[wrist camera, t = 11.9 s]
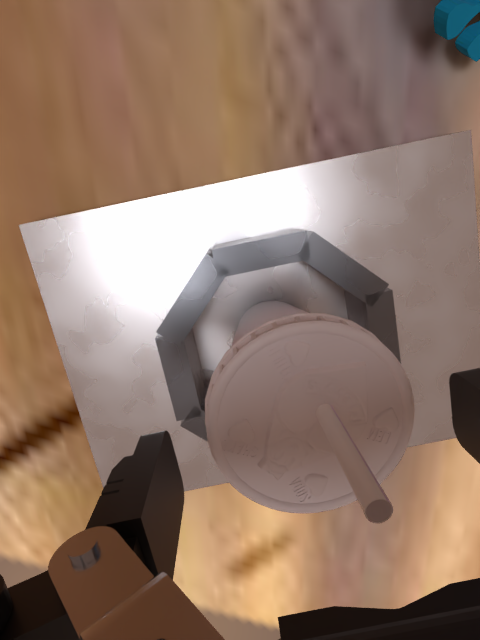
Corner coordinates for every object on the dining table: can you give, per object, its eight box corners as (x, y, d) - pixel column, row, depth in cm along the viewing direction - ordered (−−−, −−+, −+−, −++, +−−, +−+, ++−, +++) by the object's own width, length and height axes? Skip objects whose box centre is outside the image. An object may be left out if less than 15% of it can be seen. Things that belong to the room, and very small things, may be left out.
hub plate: (32, 224, 22) (-24, 226, 17) (454, 135, 21) (521, 111, 16) (116, 489, 25) (89, 553, 20) (474, 418, 25) (534, 466, 20)
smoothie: (357, 324, 22) (586, 500, 8) (279, 414, 23) (369, 702, 9) (262, 247, 21) (347, 305, 7) (185, 346, 22) (128, 562, 8)
